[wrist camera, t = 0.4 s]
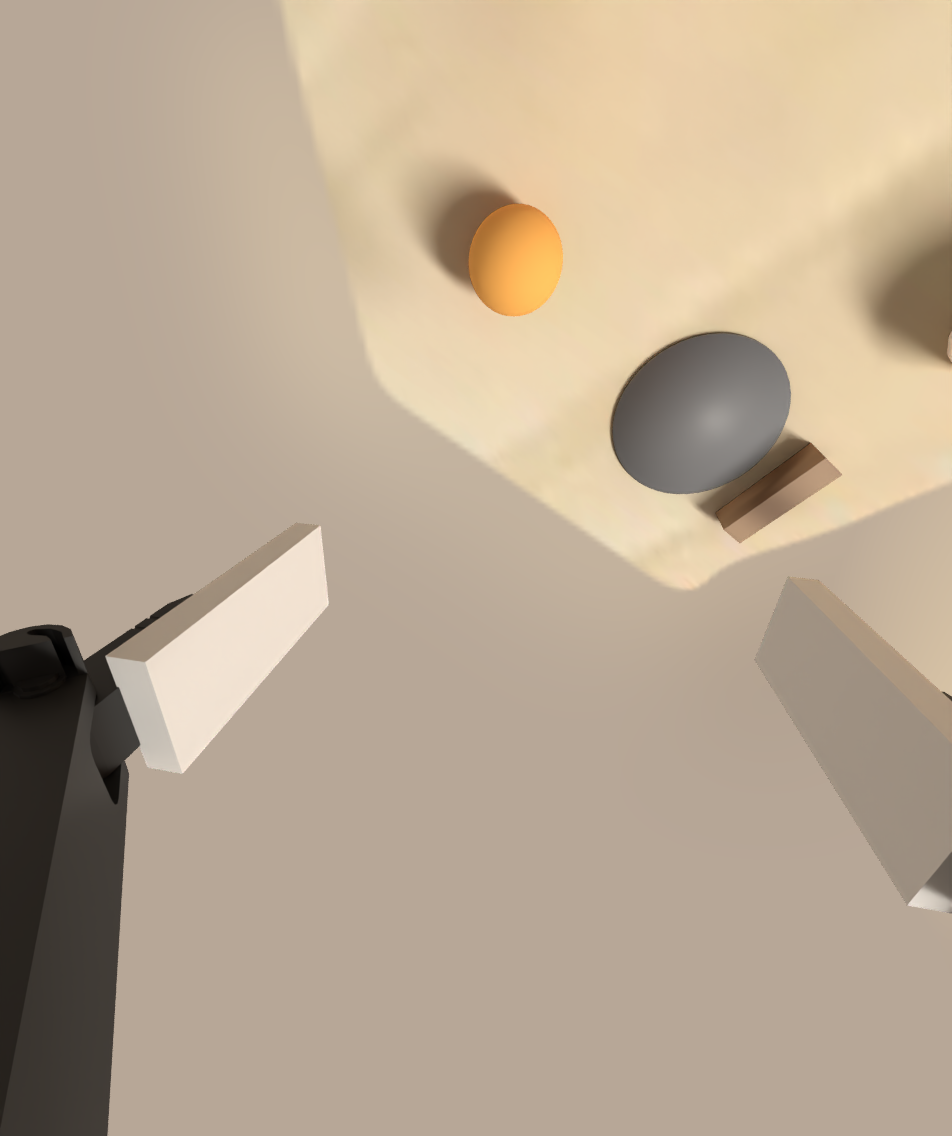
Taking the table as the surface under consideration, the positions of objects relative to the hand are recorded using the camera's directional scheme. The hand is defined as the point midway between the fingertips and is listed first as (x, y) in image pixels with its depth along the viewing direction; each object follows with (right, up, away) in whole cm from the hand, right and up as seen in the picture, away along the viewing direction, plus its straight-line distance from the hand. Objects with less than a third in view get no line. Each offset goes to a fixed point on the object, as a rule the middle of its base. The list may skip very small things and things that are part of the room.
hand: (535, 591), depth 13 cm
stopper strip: (+21, +7, +23) cm, 32 cm away
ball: (+1, +19, +14) cm, 23 cm away
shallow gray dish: (+15, +11, +21) cm, 28 cm away
